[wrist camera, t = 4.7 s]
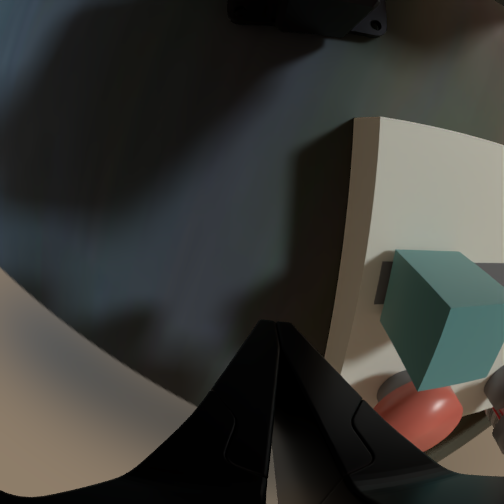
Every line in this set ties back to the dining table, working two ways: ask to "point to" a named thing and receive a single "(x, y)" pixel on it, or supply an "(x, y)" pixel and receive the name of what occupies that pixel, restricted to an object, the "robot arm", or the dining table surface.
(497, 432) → the button
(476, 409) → the panel
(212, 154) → the dining table surface
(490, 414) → the soda can
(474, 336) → the teal cube
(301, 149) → the dining table surface
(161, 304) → the dining table surface
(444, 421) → the button
